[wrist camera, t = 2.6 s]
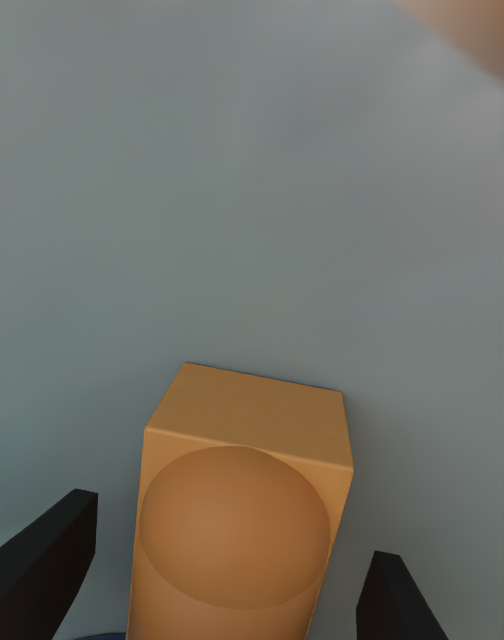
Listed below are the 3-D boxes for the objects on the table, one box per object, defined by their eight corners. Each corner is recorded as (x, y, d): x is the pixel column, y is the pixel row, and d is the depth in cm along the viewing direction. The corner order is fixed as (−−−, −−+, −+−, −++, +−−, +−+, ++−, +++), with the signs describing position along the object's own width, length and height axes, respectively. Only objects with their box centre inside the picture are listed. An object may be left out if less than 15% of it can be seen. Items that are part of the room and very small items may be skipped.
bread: (183, 360, 12) (105, 488, 7) (343, 391, 12) (368, 543, 7) (156, 596, 15) (87, 796, 10) (283, 624, 15) (274, 841, 10)
